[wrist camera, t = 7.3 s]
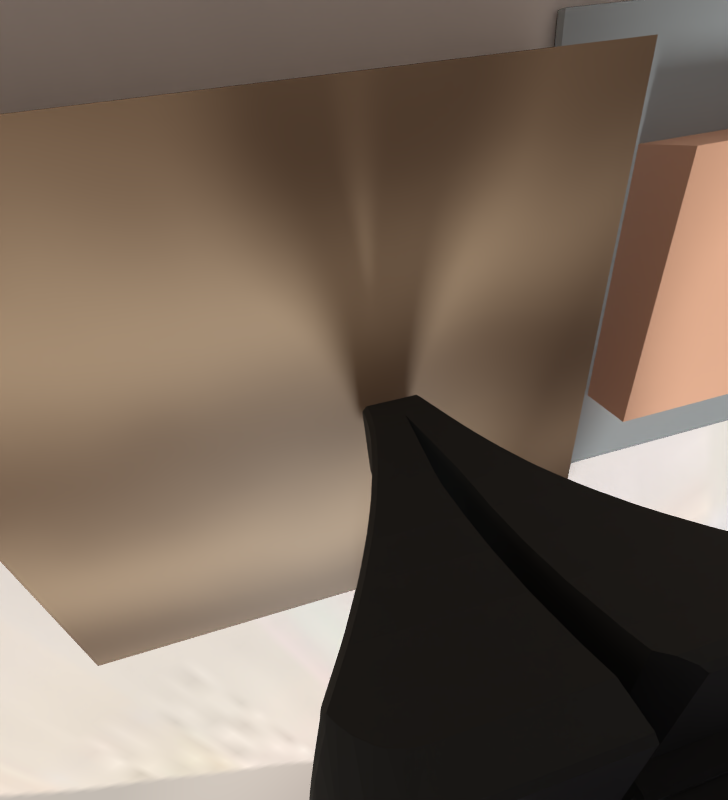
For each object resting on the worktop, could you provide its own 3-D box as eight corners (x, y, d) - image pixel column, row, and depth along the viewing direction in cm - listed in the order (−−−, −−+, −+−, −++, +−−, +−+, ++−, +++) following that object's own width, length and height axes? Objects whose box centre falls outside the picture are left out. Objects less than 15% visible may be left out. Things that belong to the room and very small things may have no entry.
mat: (731, 414, 21) (737, 417, 21) (510, 474, 20) (513, 478, 19) (929, -30, 13) (942, -33, 12) (558, 10, 11) (565, 7, 11)
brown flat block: (501, 460, 19) (556, 529, 16) (125, 560, 17) (98, 665, 13) (536, 62, 11) (657, 33, 8) (-153, 149, 9) (-375, 159, 6)
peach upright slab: (623, 422, 16) (587, 394, 18) (756, 386, 17) (710, 363, 19) (697, 145, 11) (638, 143, 13) (881, 113, 12) (803, 116, 14)
